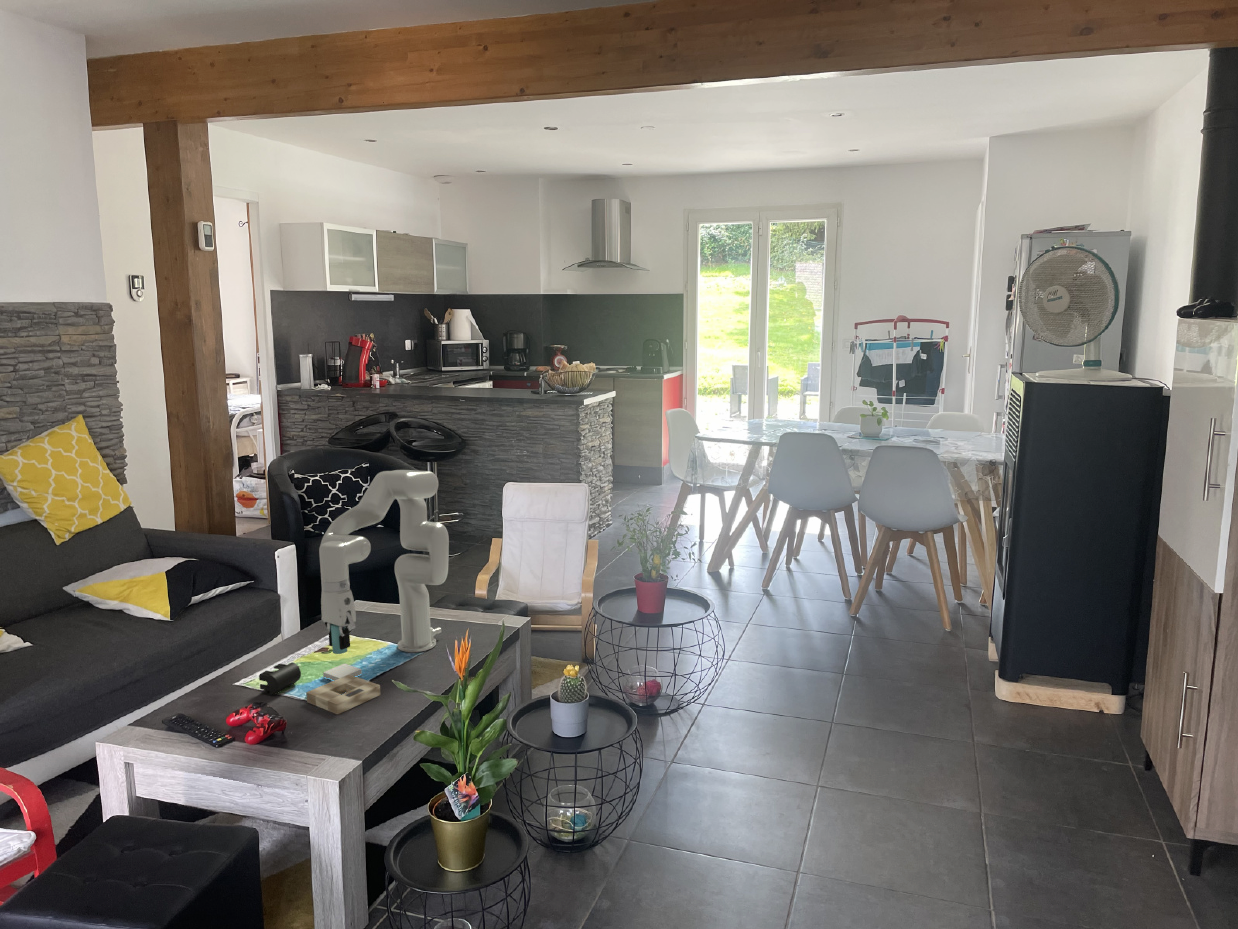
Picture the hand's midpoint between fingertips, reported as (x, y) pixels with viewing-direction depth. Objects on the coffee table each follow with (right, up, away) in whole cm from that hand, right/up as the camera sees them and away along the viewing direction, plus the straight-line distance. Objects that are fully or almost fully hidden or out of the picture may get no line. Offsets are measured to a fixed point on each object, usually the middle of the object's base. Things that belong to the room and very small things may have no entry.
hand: (339, 645), depth 250 cm
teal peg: (0, -2, 0) cm, 2 cm away
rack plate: (0, -16, +3) cm, 16 cm away
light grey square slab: (-5, -13, +18) cm, 23 cm away
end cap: (-21, -15, +10) cm, 28 cm away
